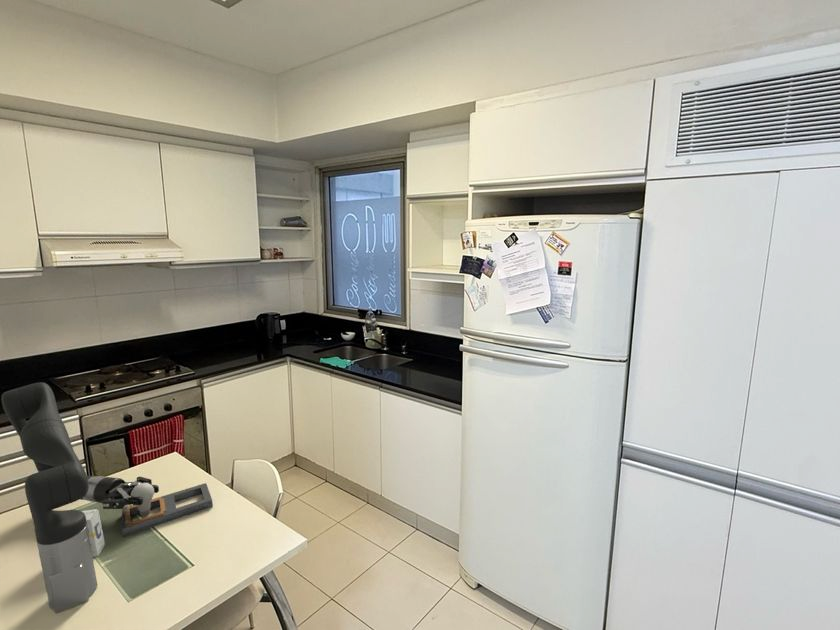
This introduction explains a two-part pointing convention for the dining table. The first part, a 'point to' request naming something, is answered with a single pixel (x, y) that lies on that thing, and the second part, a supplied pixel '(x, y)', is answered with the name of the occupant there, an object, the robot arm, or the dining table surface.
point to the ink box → (94, 531)
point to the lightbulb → (144, 497)
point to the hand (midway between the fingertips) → (149, 495)
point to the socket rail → (166, 509)
